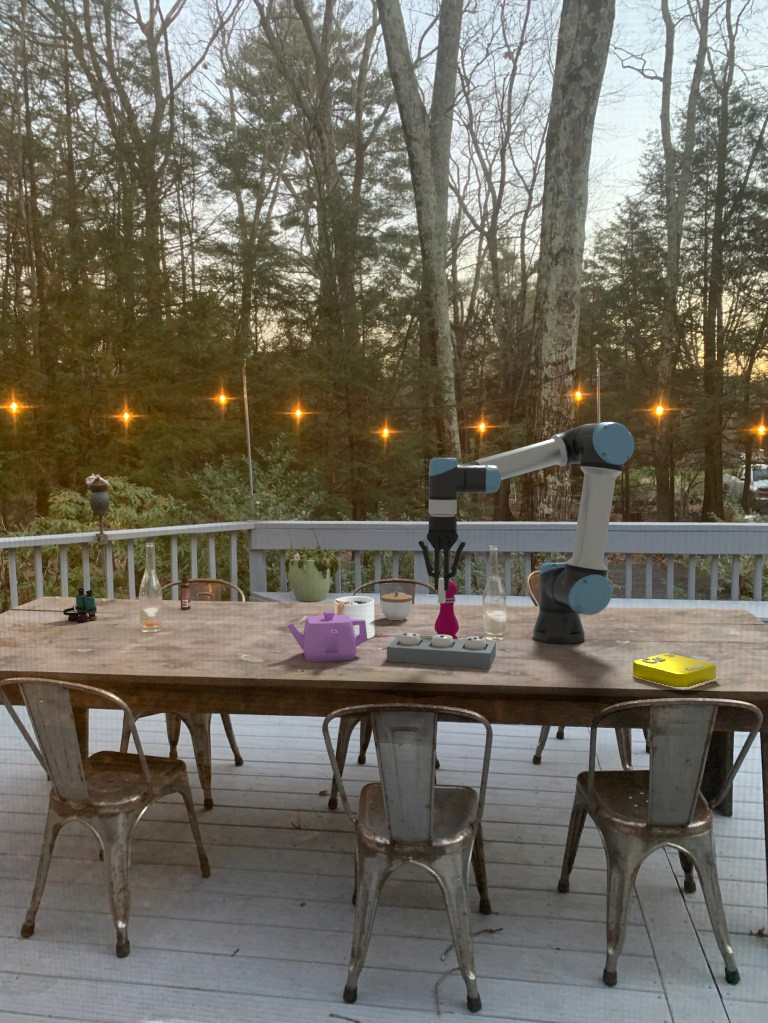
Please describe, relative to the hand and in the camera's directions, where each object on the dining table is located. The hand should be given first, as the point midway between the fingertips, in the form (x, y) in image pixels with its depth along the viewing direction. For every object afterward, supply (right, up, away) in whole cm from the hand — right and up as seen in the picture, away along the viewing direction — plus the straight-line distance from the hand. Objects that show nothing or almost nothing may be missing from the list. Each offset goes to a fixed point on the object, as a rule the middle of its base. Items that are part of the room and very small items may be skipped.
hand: (441, 602), depth 206 cm
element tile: (+56, -17, -17) cm, 61 cm away
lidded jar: (-11, -12, +53) cm, 55 cm away
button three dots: (+9, -13, -1) cm, 16 cm away
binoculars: (-117, -12, +50) cm, 128 cm away
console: (0, -15, +1) cm, 16 cm away
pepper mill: (+3, -14, +20) cm, 25 cm away
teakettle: (-31, -16, +4) cm, 35 cm away
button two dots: (-9, -13, +3) cm, 16 cm away
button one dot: (0, -13, +1) cm, 13 cm away
